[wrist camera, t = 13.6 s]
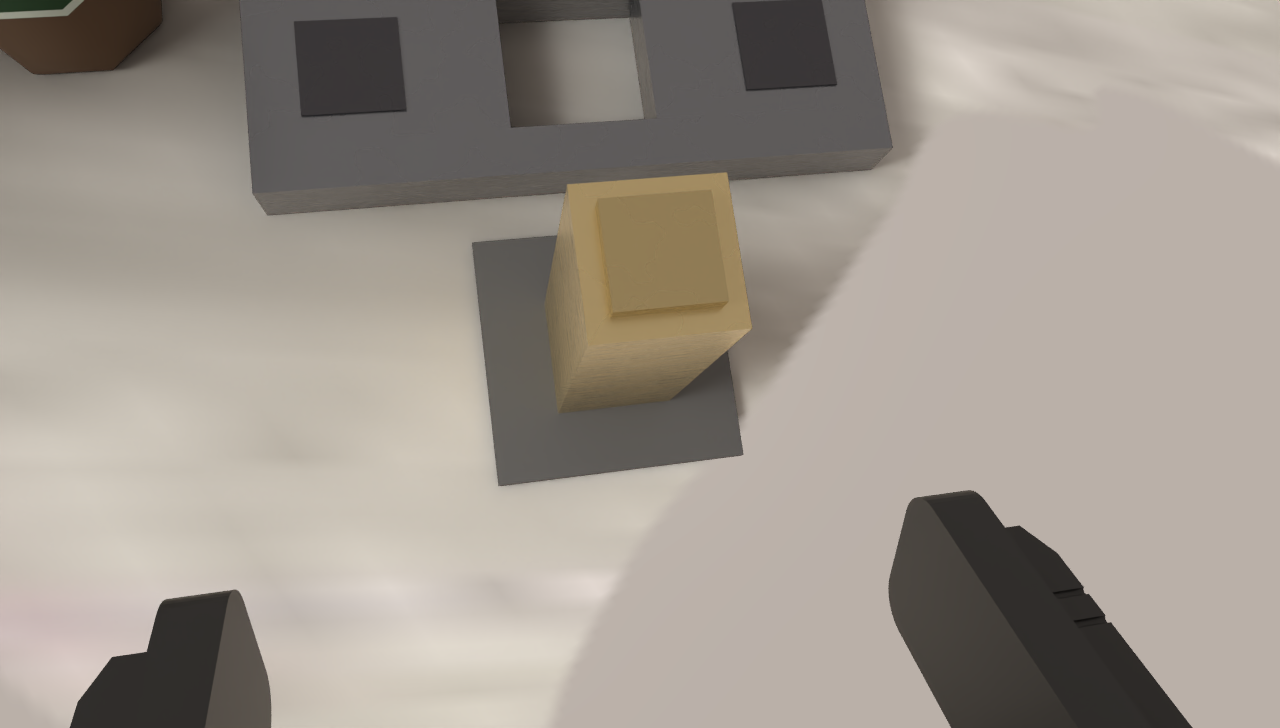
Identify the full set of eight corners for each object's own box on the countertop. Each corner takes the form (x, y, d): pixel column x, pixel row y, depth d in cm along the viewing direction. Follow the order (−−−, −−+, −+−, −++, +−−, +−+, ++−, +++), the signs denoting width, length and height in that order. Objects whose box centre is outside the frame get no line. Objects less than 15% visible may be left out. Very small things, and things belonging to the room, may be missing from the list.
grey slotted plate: (267, 215, 38) (251, 192, 36) (251, -10, 40) (235, -46, 38) (871, 169, 43) (893, 146, 40) (833, -32, 44) (853, -65, 42)
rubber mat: (498, 486, 38) (498, 485, 37) (472, 245, 39) (472, 242, 39) (741, 455, 39) (743, 454, 39) (705, 226, 41) (707, 223, 41)
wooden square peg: (558, 413, 38) (590, 341, 25) (544, 303, 39) (568, 176, 26) (669, 400, 39) (758, 323, 26) (654, 292, 40) (732, 163, 26)
